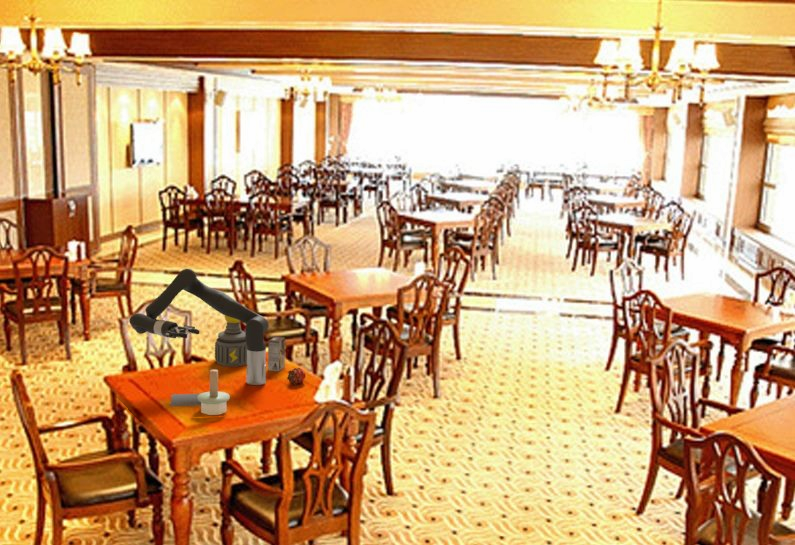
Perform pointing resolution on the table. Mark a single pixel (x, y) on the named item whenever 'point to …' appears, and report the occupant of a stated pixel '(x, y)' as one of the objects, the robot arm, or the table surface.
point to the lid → (213, 391)
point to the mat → (185, 400)
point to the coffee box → (276, 353)
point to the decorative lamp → (231, 345)
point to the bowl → (213, 408)
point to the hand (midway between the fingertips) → (192, 334)
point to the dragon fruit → (296, 376)
